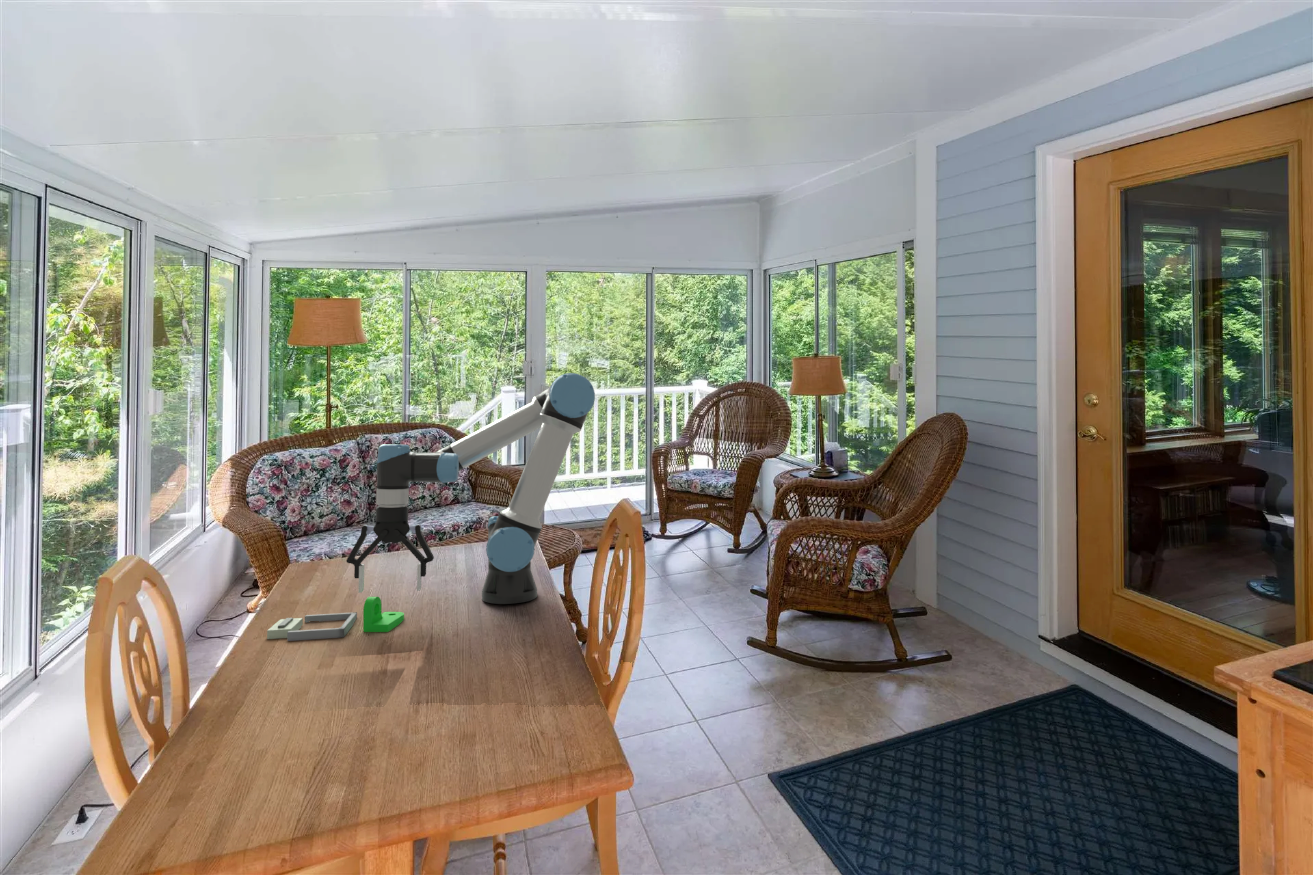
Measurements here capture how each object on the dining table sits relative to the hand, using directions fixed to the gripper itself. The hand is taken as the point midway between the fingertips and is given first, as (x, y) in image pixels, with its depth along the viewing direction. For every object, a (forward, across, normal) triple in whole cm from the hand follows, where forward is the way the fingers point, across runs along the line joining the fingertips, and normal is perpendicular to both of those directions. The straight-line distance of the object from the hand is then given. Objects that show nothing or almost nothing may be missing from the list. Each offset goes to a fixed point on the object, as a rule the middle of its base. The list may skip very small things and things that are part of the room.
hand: (390, 590), depth 166 cm
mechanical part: (+9, +1, 0) cm, 9 cm away
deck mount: (+9, +15, +1) cm, 18 cm away
